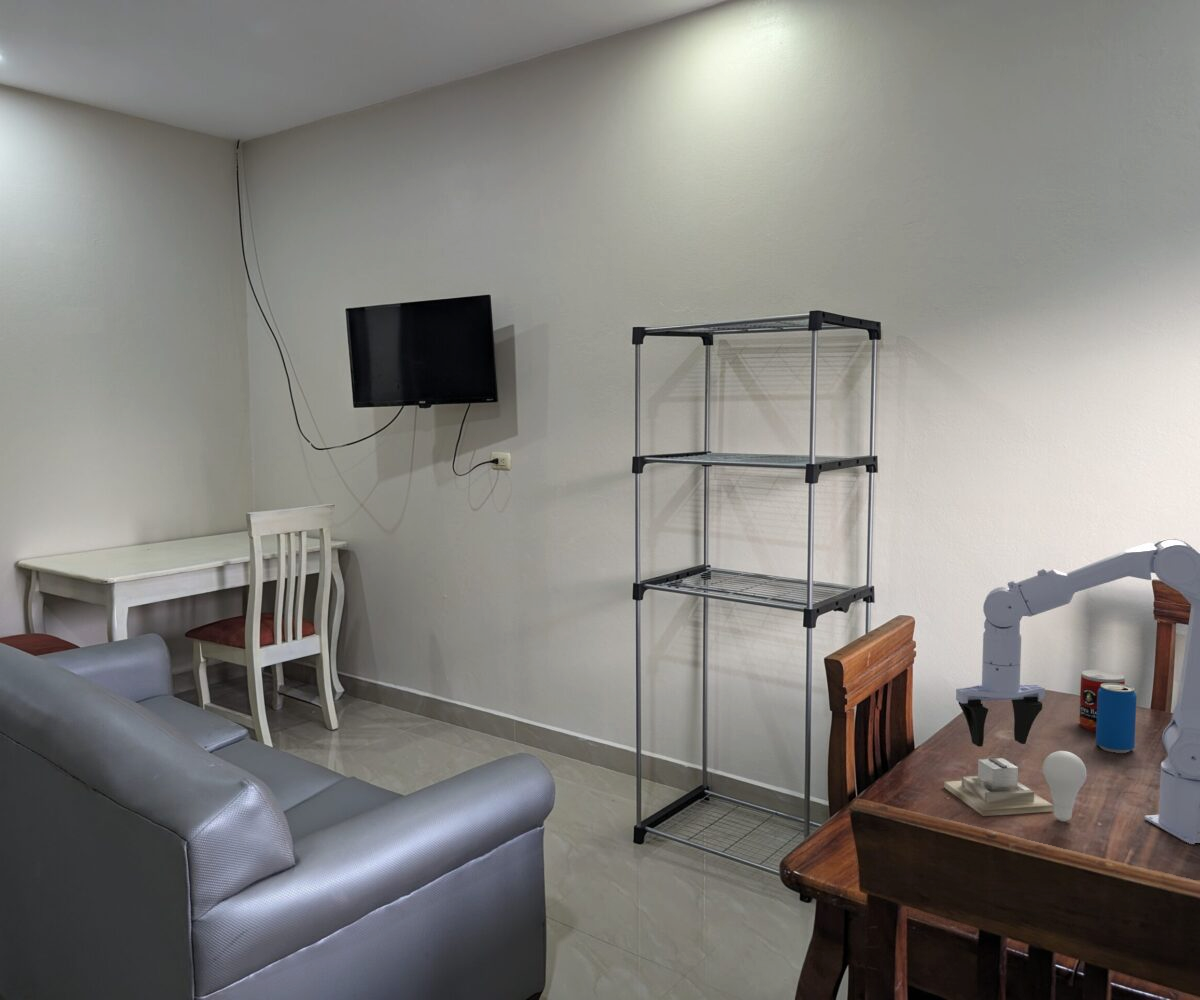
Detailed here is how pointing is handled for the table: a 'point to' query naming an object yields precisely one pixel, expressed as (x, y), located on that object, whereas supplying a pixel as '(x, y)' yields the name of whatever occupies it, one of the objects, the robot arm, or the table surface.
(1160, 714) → the table surface
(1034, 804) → the beige square tray
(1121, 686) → the beverage can
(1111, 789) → the table surface
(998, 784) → the block
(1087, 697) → the canned food
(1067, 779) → the lightbulb
